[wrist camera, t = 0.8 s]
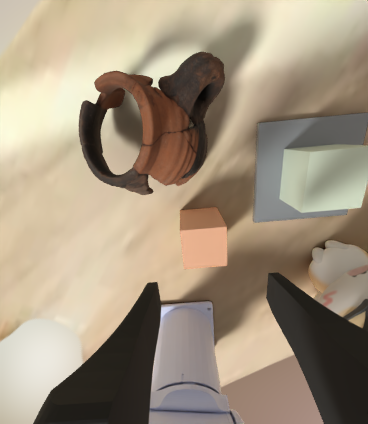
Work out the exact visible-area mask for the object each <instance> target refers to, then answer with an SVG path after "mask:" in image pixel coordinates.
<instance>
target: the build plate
mask: <svg viewBox="0 0 368 424" xmlns="http://www.w3.org/2000/svg"><path fill="white" fill-rule="evenodd" d="M367 125H368V113H358V114H347V115H337V116H326V117H316V118H305V119H295V120H284V121H274V122H263V123H257V139H256V162H255V184H254V207H253V222H254V223H256V222H268V221H280V220H292V219H303V218H315V217H327V216H338V215H347V211H348V209H340V210H329V211H317V212H305V213H301V212H300V211H298V210H296V209H295V208H293V207H292V206H290V205H288V204H287V203H285V202H284V201H282V200H280V199H279V198H280V187H281V177H282V166H283V156H284V149H290V148H301V147H312V146H322V145H333V144H345V145H363V143H364V138H365V134H366V130H367Z"/></svg>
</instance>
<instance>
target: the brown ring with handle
mask: <svg viewBox="0 0 368 424" xmlns="http://www.w3.org/2000/svg"><path fill="white" fill-rule="evenodd" d="M224 81H225V75H224V64H223V63H222V61H221V60H220V59H219V58H217V57H214V56H213V55H212V54H211V53H206V52H199V53H196V54H194V55H192V56H190V57H189V58H188V59H186V60H185V61H184V62H183V63H182V64H181V65H180V67H179V68H178V70H177V71H176V72H175V73H173V74H172V75H170V76H164V77H161V78H160V80H159V82H158V84H159V88H160V89H161V90H159V89H158V88H156V87H154V88H153V87H151V85H152V83H153V79H152V78H150V77H147V76H143V75H134V74H132V75H128V74H126V73H123V72H120V71H112V72H111V71H110V72H108V73H104V74H103V75H101V76H100V77H99V78H97V79H96V81H95V82H94V84H95V87H96V89H97V90H98V91H99V92H101V94H100V95H99V98H98V100H97V102H96V104H93V103H91V102H89V101H87V100H86V101H84V102H83V103H82V105H81V110H80V115H79V137H80V142H81V145H82V151H83V154H84V158H85V159H86V161H87V164H88V166H89V168H90V169H91V171H92V172H93V174H94V175H95V176H96V177H97V178H98V179H99V180H101V181H103V182H104V183H107V184H109V185H111V186H116V187H121V188H125V189H127V190H129V191H132V192H136V193H139V194H141V195H147V194H151V193H153V189H151V188H149V185H148V175H151V176H152V177H153V178H154V179H156V180H158V181H159V182H160V183H162V184H164V185H166V186H167V185H171V184H175V183H176V185H177V186H179V185H182V184H184V183H186V182H187V181H188V180H189V179H191V178H192V177H193V176H194V175H195V174H196V173H197V172H198V171H199V169H200V168H201V166H202V165H203V162H204V160H205V157H206V153H207V144H208V142H207V135H206V131H205V124H204V117H205V114H206V111H207V109H208V107H209V105H210V104H211V103H212V102H213V100H214V99H215V98H216V97H217V95H218V94H219V92H220V91H221V89H222V87H223V85H224ZM123 88H125V89H126V90H128V91H129V92H130V93H131V94H133V96H134V98H135V100H136V101H137V104H138V107H139V109H140V113H141V117H142V124H143V139H142V146H141V150H140V153H139V156H138V158H137V160H136V162H135V163H134V165H133V168H132V169H130V170H129V171H128V172H126V173H125V174H122V175H115V174H113V173H112V172H111V171H110V170H109V167H108V166H107V163H106V161H105V159H104V157H103V155H102V153H103V150H102V144H101V134H100V131H101V126H102V122H103V119H104V117H105V114H106V112H107V109H109V108H115V107H119V106H120V105H121V104H122V101H123V99H124V95H125V90H124V89H123ZM189 118H190V119H189ZM190 120H191V122H192V123H193V125H194V126H193V127H191V128H189V127H188V126H189V123H190Z"/></svg>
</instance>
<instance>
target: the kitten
mask: <svg viewBox="0 0 368 424" xmlns="http://www.w3.org/2000/svg"><path fill="white" fill-rule="evenodd" d="M325 247H326V248H327V249H325V250H323V249H321V248H318V247H316V248H314V249H313V250H312V257H313V260H312V262H311V263H310V266H309V270H308V271H309V276H310V279H311V280H312V282H313V284H314V286H315V287H316V289H317V290H318V291H319V292H318V293H317V294H316V295H315V297H314V298H313V299H315V300H316V301H318V302H319V303H321V304H322V305H324V306H325V307H327V308H328V309H330V310H331V311H333V312H335V313H336V314H338V315H340V316H341V317H343V318H345V319H346V320H348V321H350V322H352V323H354V324H355V325H357V326H359V327H361V328H363V329H365V330H367V331H368V253H367V252H366V251H364V250H363V249H361V248H360V247H358V246H355V245H351V244H343V243H341V242H338V241H334V240H328V241H326V242H325Z"/></svg>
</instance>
